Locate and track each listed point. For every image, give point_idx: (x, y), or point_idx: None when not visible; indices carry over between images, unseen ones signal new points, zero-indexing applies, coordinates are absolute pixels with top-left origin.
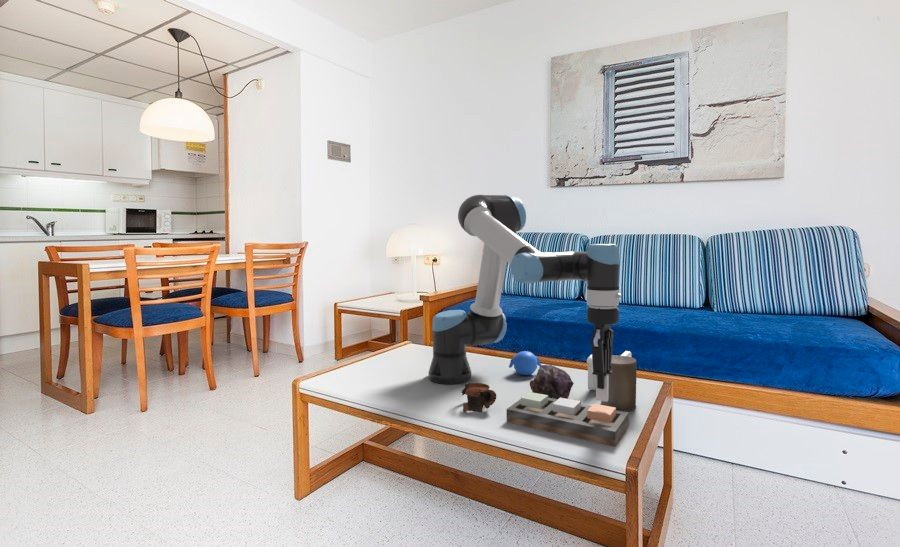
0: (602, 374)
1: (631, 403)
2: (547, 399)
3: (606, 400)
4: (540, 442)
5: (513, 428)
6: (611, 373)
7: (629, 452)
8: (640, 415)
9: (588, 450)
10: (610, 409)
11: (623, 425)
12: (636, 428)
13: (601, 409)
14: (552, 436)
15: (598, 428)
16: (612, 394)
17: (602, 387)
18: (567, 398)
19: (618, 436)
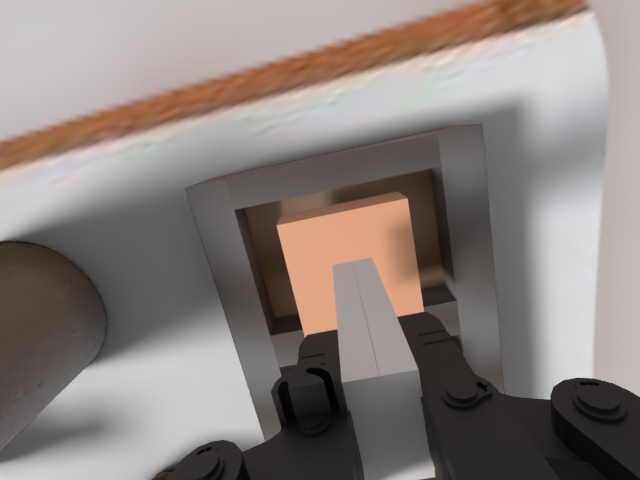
0: (622, 399)
1: (11, 255)
2: None
3: (373, 262)
4: (585, 348)
5: None
6: (306, 370)
7: (473, 51)
8: (54, 191)
9: (553, 190)
10: (328, 235)
11: (305, 160)
12: (209, 140)
13: None
14: (512, 345)
15: (487, 206)
16: (53, 346)
17: (437, 323)
18: (161, 477)
19: (402, 138)
